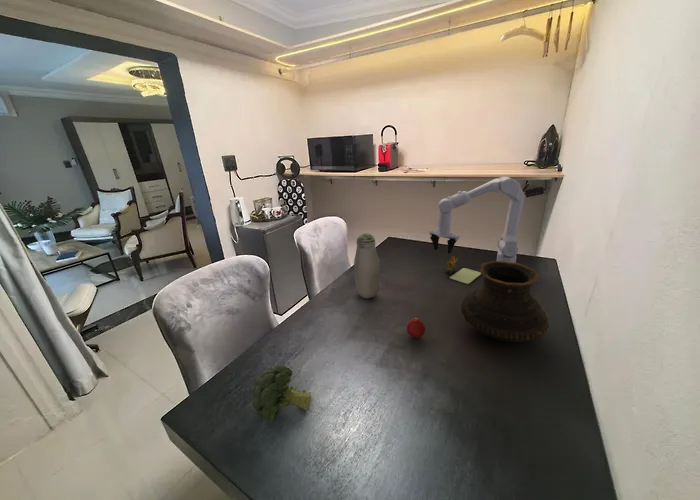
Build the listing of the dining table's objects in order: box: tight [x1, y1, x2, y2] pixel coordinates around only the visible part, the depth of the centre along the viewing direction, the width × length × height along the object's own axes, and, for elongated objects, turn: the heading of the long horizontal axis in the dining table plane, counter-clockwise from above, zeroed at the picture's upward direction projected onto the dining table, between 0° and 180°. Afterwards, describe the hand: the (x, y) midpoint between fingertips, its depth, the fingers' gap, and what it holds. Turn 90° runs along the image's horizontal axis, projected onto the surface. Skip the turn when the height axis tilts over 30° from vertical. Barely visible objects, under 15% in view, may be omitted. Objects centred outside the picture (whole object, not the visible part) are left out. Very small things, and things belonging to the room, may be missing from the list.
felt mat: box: [449, 267, 482, 285], centre depth 124 cm, size 14×9×1 cm, turn 132°
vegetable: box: [251, 364, 312, 423], centre depth 66 cm, size 12×13×15 cm
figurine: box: [444, 255, 459, 275], centre depth 127 cm, size 3×12×8 cm, turn 133°
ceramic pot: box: [460, 260, 550, 343], centre depth 83 cm, size 24×24×22 cm
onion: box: [406, 317, 426, 339], centre depth 86 cm, size 6×6×8 cm
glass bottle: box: [353, 233, 381, 299], centre depth 108 cm, size 10×10×28 cm
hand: (442, 251), depth 129 cm, fingers open, 7 cm apart
